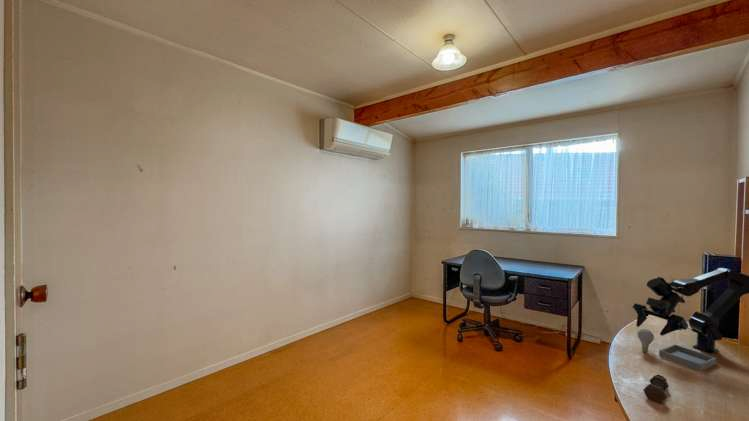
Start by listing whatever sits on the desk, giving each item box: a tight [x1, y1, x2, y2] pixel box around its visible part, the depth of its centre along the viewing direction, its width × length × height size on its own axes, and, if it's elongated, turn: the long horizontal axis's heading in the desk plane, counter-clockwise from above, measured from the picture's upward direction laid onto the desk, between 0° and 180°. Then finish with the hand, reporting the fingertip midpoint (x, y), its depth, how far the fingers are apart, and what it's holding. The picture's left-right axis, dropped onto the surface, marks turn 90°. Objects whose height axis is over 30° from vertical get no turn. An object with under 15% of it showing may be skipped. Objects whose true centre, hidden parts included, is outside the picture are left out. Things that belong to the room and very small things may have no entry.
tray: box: [658, 343, 717, 372], centre depth 132 cm, size 13×13×2 cm
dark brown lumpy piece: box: [642, 374, 670, 404], centre depth 110 cm, size 6×5×15 cm
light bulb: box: [637, 328, 655, 353], centre depth 139 cm, size 5×6×10 cm
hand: (648, 330), depth 139 cm, fingers open, 9 cm apart
